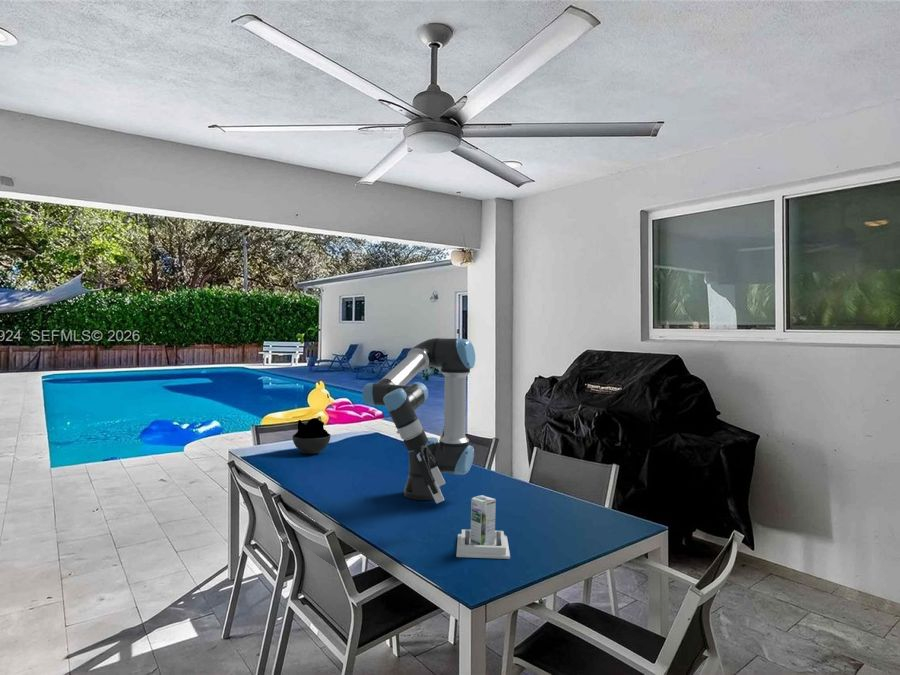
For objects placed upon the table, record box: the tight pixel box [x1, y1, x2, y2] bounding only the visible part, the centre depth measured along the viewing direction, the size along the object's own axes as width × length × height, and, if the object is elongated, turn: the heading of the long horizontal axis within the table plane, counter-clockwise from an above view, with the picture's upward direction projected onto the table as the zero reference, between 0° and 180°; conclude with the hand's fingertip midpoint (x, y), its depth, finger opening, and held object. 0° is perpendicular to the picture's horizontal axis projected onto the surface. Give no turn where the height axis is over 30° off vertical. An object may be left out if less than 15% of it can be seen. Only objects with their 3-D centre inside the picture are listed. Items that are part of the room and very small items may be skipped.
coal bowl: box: [292, 417, 331, 455], centre depth 287 cm, size 20×20×19 cm
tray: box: [456, 529, 511, 560], centre depth 166 cm, size 16×16×5 cm
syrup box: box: [470, 494, 497, 546], centre depth 166 cm, size 6×6×14 cm
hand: (441, 493), depth 172 cm, fingers open, 13 cm apart
